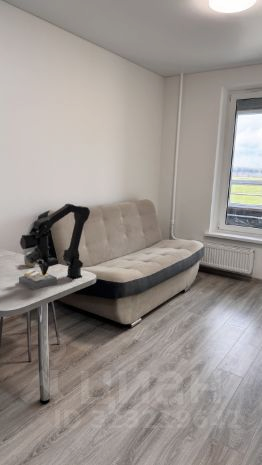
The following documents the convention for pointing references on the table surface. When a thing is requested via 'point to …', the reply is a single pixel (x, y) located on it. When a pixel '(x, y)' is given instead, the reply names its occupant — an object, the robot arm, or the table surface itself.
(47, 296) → the table surface
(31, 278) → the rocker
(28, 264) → the ceramic mug
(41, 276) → the rocker
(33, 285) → the switch unit
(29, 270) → the rocker
